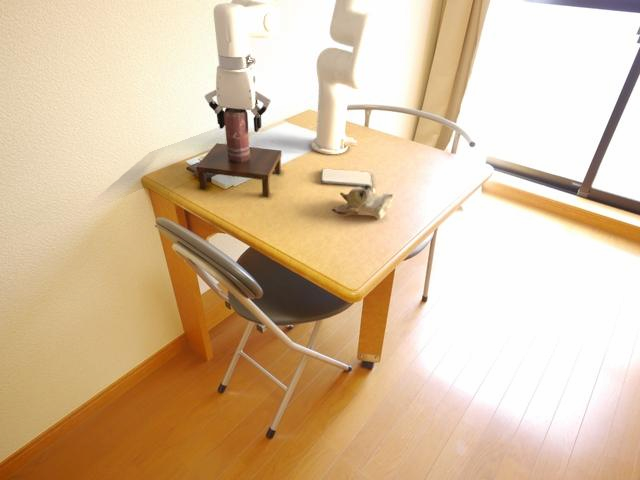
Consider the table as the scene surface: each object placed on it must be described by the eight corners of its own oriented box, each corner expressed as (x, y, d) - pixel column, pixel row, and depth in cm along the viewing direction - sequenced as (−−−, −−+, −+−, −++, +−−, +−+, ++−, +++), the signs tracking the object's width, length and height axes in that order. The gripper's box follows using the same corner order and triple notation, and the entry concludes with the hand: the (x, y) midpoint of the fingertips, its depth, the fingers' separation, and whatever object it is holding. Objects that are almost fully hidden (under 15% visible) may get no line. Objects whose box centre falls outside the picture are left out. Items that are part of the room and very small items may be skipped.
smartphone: (372, 184, 119) (321, 180, 119) (371, 187, 120) (321, 183, 120) (370, 171, 126) (322, 167, 126) (369, 174, 126) (321, 170, 126)
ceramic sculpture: (391, 199, 97) (330, 191, 101) (387, 229, 102) (330, 220, 106) (397, 180, 106) (341, 172, 109) (393, 208, 111) (340, 200, 114)
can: (252, 154, 117) (249, 106, 109) (246, 164, 112) (243, 114, 104) (231, 152, 118) (227, 104, 109) (225, 162, 113) (220, 112, 104)
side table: (281, 171, 125) (281, 150, 121) (268, 197, 112) (268, 175, 108) (218, 164, 127) (216, 143, 122) (199, 189, 114) (195, 166, 110)
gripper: (272, 60, 102) (274, 126, 112) (206, 55, 104) (214, 120, 114) (264, 68, 96) (267, 137, 106) (194, 62, 98) (204, 130, 108)
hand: (240, 128), depth 110 cm, fingers open, 9 cm apart
